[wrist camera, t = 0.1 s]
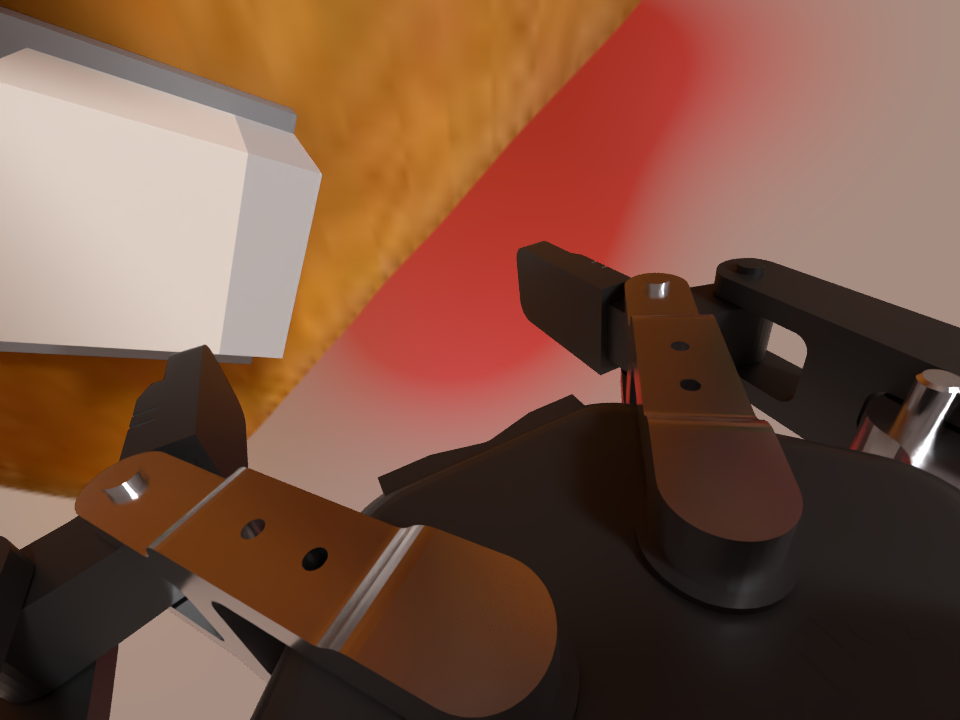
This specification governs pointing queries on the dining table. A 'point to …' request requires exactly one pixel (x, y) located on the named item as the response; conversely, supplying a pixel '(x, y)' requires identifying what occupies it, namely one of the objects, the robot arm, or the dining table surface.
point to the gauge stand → (142, 204)
